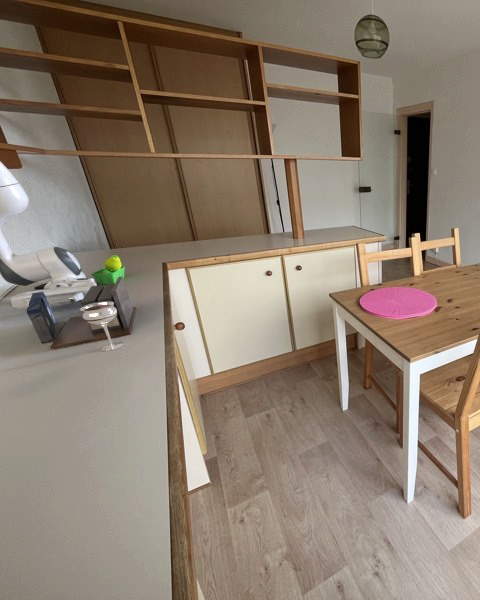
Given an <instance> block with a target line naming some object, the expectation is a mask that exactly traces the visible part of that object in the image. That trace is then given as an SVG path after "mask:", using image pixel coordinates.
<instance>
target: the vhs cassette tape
mask: <svg viewBox="0 0 480 600" xmlns="http://www.w3.org/2000/svg"><path fill="white" fill-rule="evenodd" d="M26 314H27V316H28V318H29V320H30V322H31V324H32V327H33V328H34V331H35V333H36V335H37V337H38V339H39V341H40V343H41V344H46V343H49V342H54V341H55V335H56V328H57V327H56V326H57V318H56V317H55V314H54V313H53V310H52V308H51V306H50V304H49V303H48V301H47V299H46V296H45V294H44V293H43V292H38V293H32V296H31V299H30V301H29V307H26Z"/></svg>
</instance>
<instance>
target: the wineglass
mask: <svg viewBox="0 0 480 600" xmlns="http://www.w3.org/2000/svg"><path fill="white" fill-rule="evenodd" d="M79 311H80V312H82V314H81V316H82V317H83V319H84V320H85V321H86V322H87V323H90V324H92V325H100V326H103V328H104V331H105V333H106V335H107V337H108V339H107V340H108V342H109V343H107V344H105V345H103V346H101V347H102V348H101V347H100V348H101V350H102V351H101V350H100V351H101V352H109V351H114V350H117V349H120V348H121V347H123V346H124V345H125V343H124V342H123V341H116V342H112V338H110V335H109V332H108V328H107V325H108V323H110V322H112V321H113V320H114V319H115V317H116V316H117V309H116V308H115V307H114V302H110V301H106V302H97V303H93V304H89V305H86V306H83V307H82V306H81V307H80V308H79Z"/></svg>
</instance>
